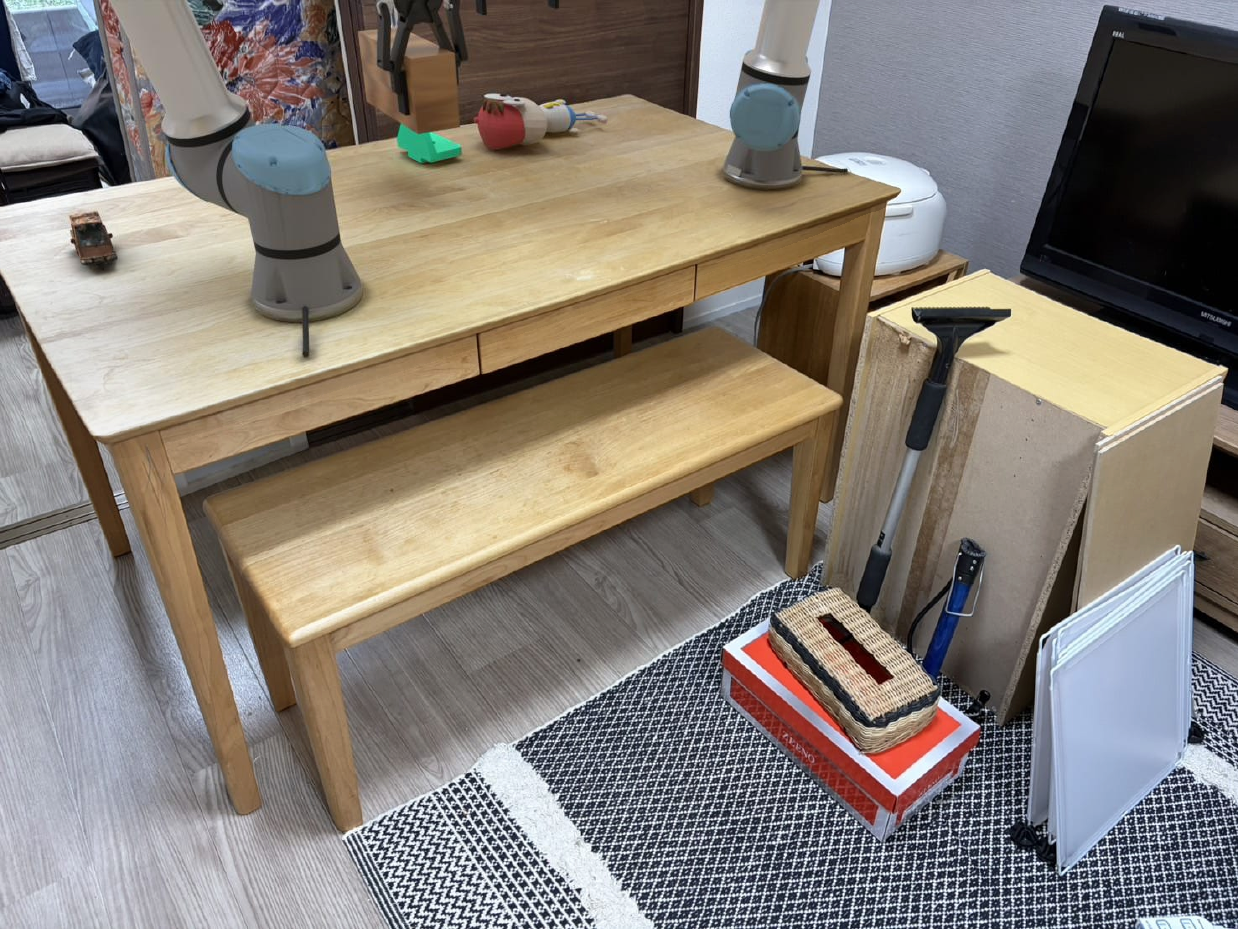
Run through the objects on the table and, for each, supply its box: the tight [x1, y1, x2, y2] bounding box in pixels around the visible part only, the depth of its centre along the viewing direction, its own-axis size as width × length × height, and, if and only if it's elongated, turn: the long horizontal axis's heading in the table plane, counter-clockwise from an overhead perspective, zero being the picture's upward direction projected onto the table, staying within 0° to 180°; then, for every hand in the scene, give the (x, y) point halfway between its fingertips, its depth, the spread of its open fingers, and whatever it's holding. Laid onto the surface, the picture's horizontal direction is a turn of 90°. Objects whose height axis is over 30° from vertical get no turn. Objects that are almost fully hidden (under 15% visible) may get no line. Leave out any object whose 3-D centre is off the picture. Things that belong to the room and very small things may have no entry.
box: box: [357, 26, 461, 134], centre depth 158 cm, size 22×8×12 cm, turn 35°
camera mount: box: [396, 123, 463, 164], centre depth 182 cm, size 12×8×10 cm, turn 42°
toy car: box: [68, 210, 118, 272], centre depth 141 cm, size 6×12×7 cm, turn 39°
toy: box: [473, 93, 609, 150], centre depth 194 cm, size 18×10×30 cm
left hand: (427, 109), depth 156 cm, fingers closed on box, 8 cm apart
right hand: (518, 10), depth 159 cm, fingers open, 13 cm apart
